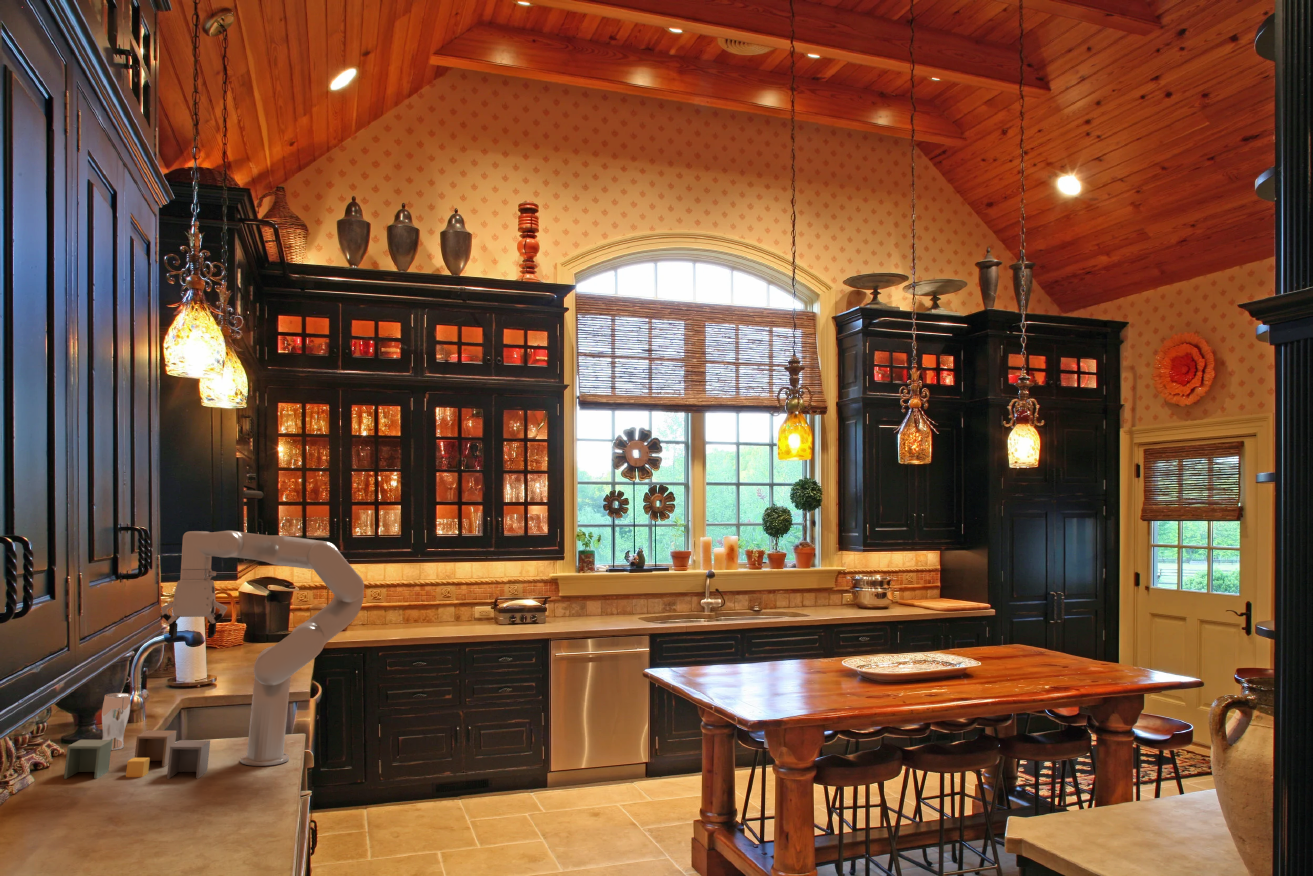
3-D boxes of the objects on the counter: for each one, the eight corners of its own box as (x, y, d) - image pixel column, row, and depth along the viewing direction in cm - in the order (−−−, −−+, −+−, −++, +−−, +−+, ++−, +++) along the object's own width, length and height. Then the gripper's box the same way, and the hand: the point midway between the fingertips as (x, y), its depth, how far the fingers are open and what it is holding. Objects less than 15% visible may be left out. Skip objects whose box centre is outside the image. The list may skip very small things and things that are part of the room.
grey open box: (176, 771, 242) (179, 740, 243) (207, 771, 243) (210, 740, 244) (166, 778, 235) (170, 746, 235) (198, 778, 236) (201, 746, 237)
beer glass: (120, 744, 268) (125, 692, 270) (129, 748, 263) (135, 695, 265) (93, 747, 263) (100, 694, 264) (103, 752, 258) (109, 697, 260)
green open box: (76, 771, 238) (80, 739, 239) (108, 771, 239) (112, 739, 240) (63, 778, 230) (67, 746, 231) (96, 778, 232) (100, 746, 232)
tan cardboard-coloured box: (143, 760, 252) (147, 730, 252) (173, 760, 253) (176, 730, 254) (133, 767, 244) (136, 736, 245) (164, 767, 245) (167, 736, 246)
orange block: (131, 773, 238) (133, 757, 239) (148, 773, 239) (149, 757, 240) (125, 777, 234) (127, 761, 235) (142, 777, 235) (144, 761, 236)
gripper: (232, 574, 260) (229, 635, 258) (167, 575, 257) (163, 636, 255) (224, 576, 252) (221, 639, 251) (157, 576, 250) (153, 640, 248)
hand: (192, 637), depth 253 cm, fingers open, 9 cm apart
